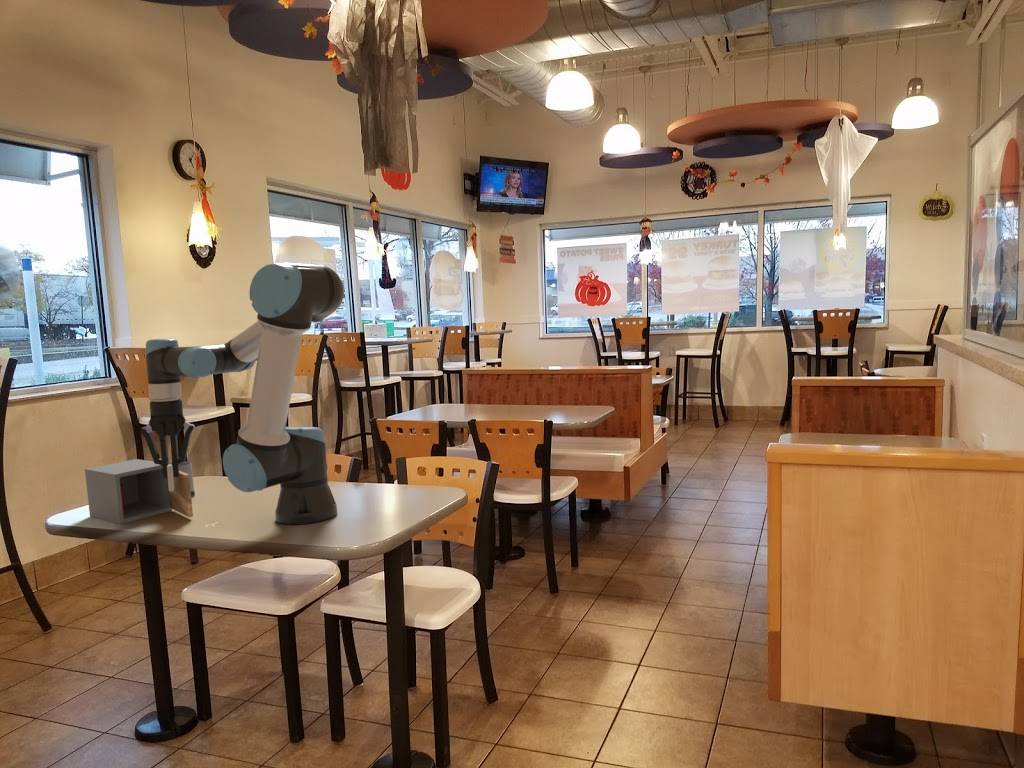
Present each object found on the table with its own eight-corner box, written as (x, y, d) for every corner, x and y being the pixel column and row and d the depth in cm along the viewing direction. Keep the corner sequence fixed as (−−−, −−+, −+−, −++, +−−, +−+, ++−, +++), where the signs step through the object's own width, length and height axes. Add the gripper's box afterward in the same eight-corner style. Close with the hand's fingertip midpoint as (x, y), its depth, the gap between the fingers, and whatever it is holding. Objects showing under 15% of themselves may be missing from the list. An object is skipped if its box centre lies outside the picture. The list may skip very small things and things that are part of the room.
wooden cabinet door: (179, 506, 200) (176, 466, 199) (198, 515, 189) (194, 473, 188) (170, 508, 198) (166, 468, 197) (188, 517, 188) (184, 475, 187)
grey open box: (172, 510, 199) (167, 463, 197) (120, 524, 187) (114, 474, 186) (141, 503, 208) (136, 459, 206) (89, 516, 196) (84, 469, 195)
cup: (200, 495, 215) (197, 462, 214) (177, 502, 207) (174, 468, 206) (180, 493, 218) (176, 460, 217) (156, 500, 211) (153, 466, 210)
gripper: (194, 396, 192) (201, 484, 194) (141, 399, 188) (148, 488, 191) (190, 399, 184) (196, 491, 187) (134, 402, 181) (142, 495, 183)
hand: (172, 489), depth 189 cm, fingers closed
